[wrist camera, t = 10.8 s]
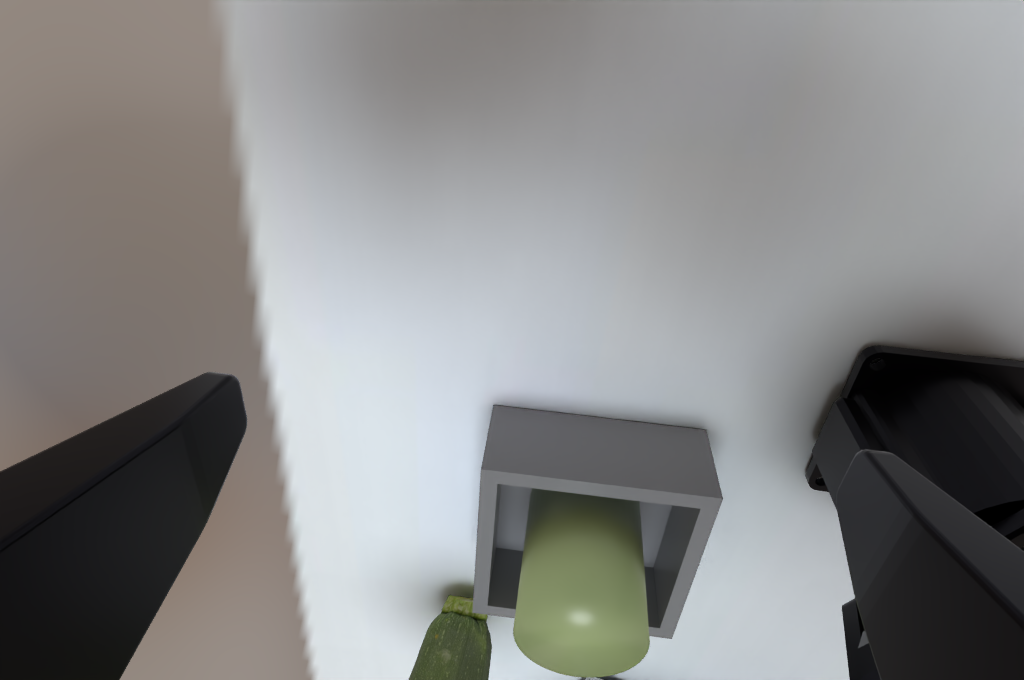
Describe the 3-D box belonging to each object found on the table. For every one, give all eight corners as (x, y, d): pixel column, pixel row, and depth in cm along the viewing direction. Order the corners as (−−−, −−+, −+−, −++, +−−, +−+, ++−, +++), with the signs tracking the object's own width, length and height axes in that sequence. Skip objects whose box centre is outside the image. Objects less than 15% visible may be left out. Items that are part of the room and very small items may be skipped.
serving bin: (705, 429, 24) (722, 498, 21) (662, 566, 29) (671, 638, 26) (493, 404, 24) (481, 469, 21) (483, 544, 29) (472, 612, 26)
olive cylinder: (647, 469, 25) (659, 605, 20) (631, 546, 27) (639, 685, 22) (533, 456, 25) (516, 587, 20) (527, 533, 27) (510, 667, 22)
